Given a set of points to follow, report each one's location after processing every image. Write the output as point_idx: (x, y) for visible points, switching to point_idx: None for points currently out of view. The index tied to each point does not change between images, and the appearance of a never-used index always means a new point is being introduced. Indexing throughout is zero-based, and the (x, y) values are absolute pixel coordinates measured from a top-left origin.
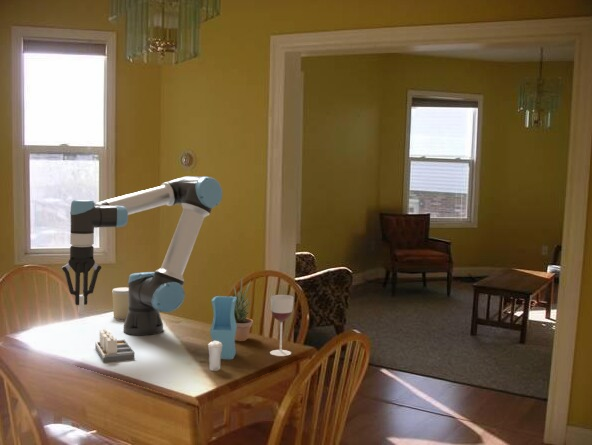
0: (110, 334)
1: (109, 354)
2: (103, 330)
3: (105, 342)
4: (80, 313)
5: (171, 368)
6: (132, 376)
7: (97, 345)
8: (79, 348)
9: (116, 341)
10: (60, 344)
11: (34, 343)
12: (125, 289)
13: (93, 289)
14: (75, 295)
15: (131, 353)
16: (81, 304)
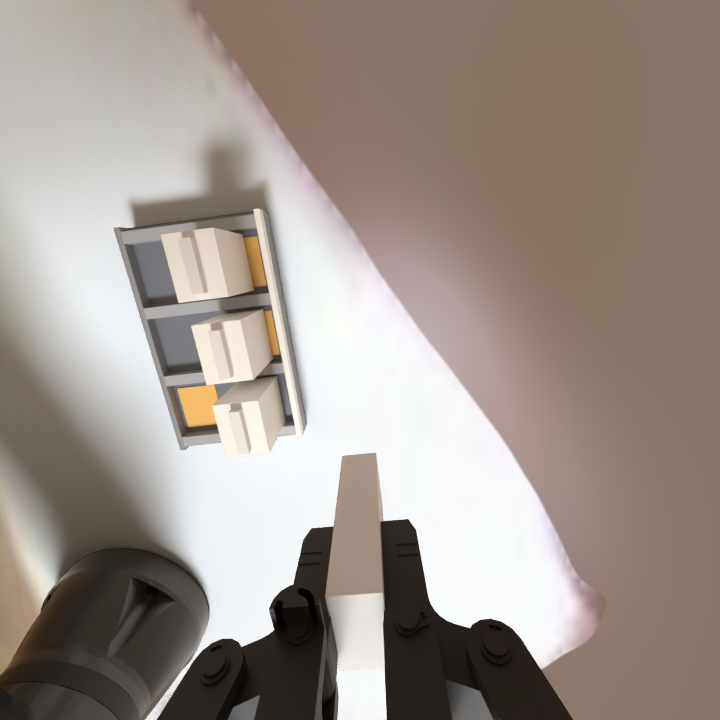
0: (208, 366)
1: (231, 220)
2: (249, 444)
3: (243, 315)
4: (367, 460)
5: None
6: None
7: (292, 384)
8: (367, 438)
9: (168, 235)
10: (435, 502)
11: (525, 533)
12: None
13: (165, 710)
14: (434, 615)
15: (131, 230)
16: (358, 513)
